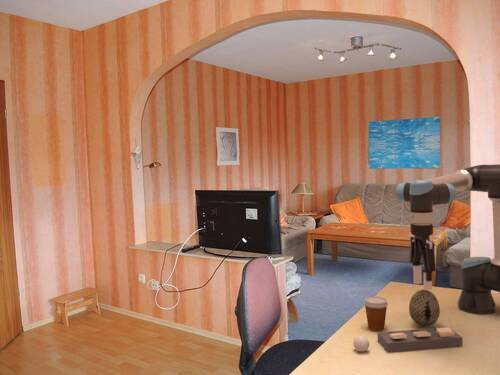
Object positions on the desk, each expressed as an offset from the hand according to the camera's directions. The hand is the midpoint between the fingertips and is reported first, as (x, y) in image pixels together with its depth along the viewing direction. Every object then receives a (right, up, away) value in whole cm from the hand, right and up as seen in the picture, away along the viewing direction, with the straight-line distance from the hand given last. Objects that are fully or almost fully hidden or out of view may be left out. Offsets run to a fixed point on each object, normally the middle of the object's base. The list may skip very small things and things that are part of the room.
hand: (422, 286), depth 159 cm
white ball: (-21, -24, +3) cm, 32 cm away
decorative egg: (+9, -21, +22) cm, 32 cm away
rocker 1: (-8, -19, +2) cm, 21 cm away
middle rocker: (+1, -18, +3) cm, 18 cm away
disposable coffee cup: (-11, -22, +22) cm, 33 cm away
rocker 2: (+10, -18, +4) cm, 21 cm away
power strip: (+1, -23, +5) cm, 23 cm away
